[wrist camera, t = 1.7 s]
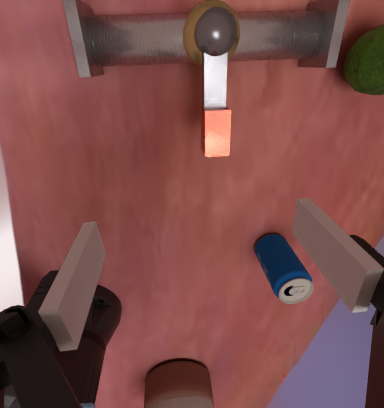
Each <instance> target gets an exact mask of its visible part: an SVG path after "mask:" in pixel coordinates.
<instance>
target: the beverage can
mask: <svg viewBox="0 0 384 408" xmlns="http://www.w3.org/2000/svg"><path fill="white" fill-rule="evenodd" d="M255 254H256V256H257V258H258V260H259V262H260V264H261V266H262V269H263V271H264V273H265V275H266V277H267V279H268V281H269V283H270V285H271V287H272V289H273V292H274V294H275V295H276V296H277V297H278V298H280V300H281V301H283V302H284V303H288V304H294V303H299V302H301V301H303V300H305V299H307V298H308V297H309V296H310V295H311V293H312V292H313V284H312V278H311V276H310V275H309V273H308V272H307V270H306V269H305V267H304V266H303V264H302V263H301V261H300V260H299V259H298V257H297V256H296V254H295V253H294V251H293V250H292V248H291V247H290V245H289V244H288V243H287V241H286V240H285V238H284V237H282V236H281V235H278V234H271V235H267V236H265V237H263V238H261V239H260V240H259V241H258V242H257V244H256V246H255Z"/></svg>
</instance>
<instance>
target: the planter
mask: <svg viewBox="0 0 384 408" xmlns="http://www.w3.org/2000/svg"><path fill="white" fill-rule="evenodd" d="M144 408H214V403H213V395H212V388H211V381H210V375H209V372H208V370H207V369H206V368H205V367H204V366H202V365H200V364H198V363H196V362H192V361H185V360H180V361H172V362H168V363H164V364H162V365H160V366H158V367H156V368H155V369H153V370H152V371H151V372H150V373H149V374H148V376H147V378H146V383H145V399H144Z"/></svg>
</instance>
